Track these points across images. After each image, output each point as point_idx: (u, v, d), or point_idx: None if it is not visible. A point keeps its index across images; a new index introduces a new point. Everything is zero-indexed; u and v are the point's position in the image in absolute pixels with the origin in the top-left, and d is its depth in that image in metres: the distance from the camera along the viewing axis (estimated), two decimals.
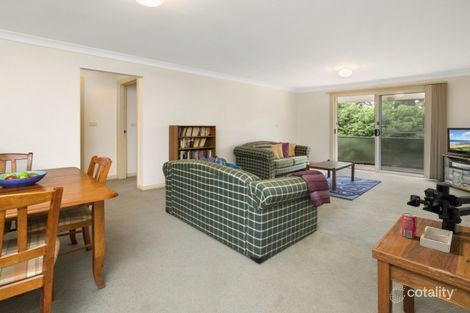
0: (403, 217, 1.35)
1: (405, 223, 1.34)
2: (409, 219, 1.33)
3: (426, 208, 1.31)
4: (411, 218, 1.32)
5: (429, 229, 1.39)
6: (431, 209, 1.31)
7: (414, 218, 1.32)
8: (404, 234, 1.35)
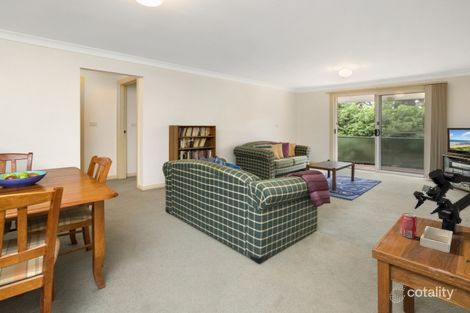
0: (403, 217, 1.35)
1: (405, 223, 1.34)
2: (409, 219, 1.33)
3: (433, 211, 1.32)
4: (411, 218, 1.32)
5: (429, 229, 1.39)
6: (438, 209, 1.32)
7: (414, 218, 1.32)
8: (404, 234, 1.35)
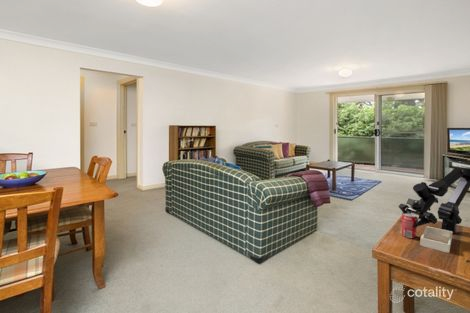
0: (403, 217, 1.35)
1: (405, 223, 1.34)
2: (409, 219, 1.33)
3: (415, 225, 1.31)
4: (411, 218, 1.32)
5: (429, 229, 1.39)
6: (420, 222, 1.31)
7: (414, 218, 1.32)
8: (404, 234, 1.35)
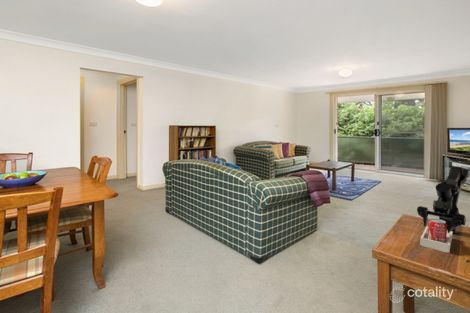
0: (434, 224, 1.23)
1: (437, 231, 1.22)
2: (442, 225, 1.21)
3: (450, 230, 1.20)
4: (443, 225, 1.22)
5: None
6: (453, 226, 1.21)
7: (445, 224, 1.22)
8: None
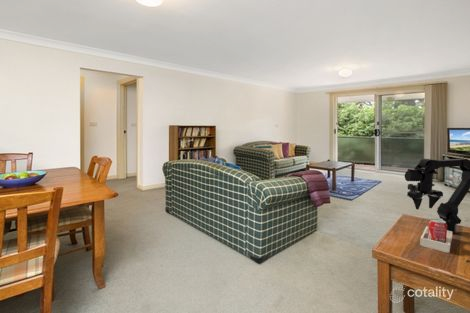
0: (434, 224, 1.23)
1: (437, 231, 1.22)
2: (442, 225, 1.21)
3: (416, 206, 1.41)
4: (443, 225, 1.22)
5: None
6: (416, 202, 1.40)
7: (445, 224, 1.22)
8: None
